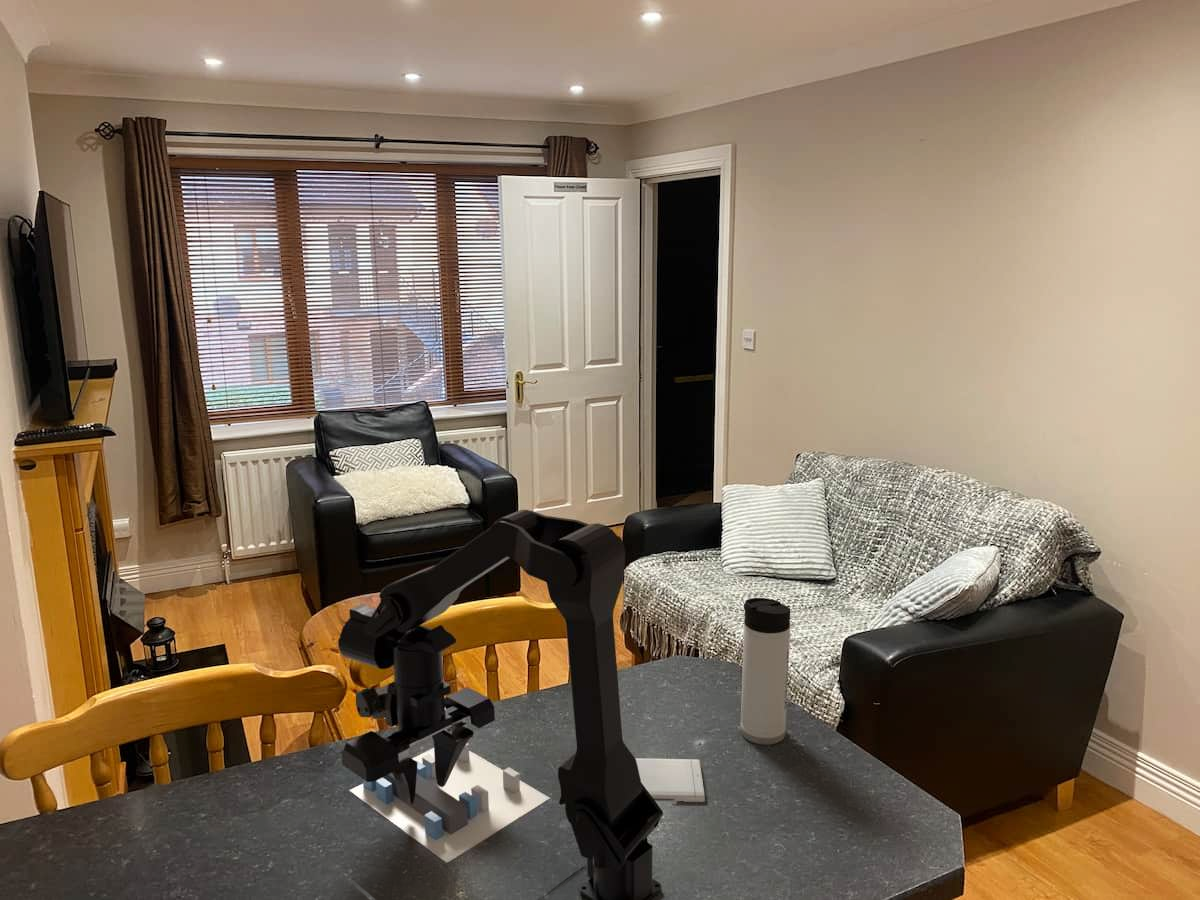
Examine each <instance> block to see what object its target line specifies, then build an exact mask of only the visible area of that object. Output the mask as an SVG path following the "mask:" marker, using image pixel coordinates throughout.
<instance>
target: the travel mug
mask: <svg viewBox="0 0 1200 900" xmlns="http://www.w3.org/2000/svg"><path fill="white" fill-rule="evenodd" d="M743 610H744V620H743V640H742V641H743V645H742V647H743V648H742V672H741V674H742V675H741V676H742V677H741V700H740V701H741V702H740V703H741V704H740V705H741V706H740V734H741V735H742V737H743V739H744V738H745V740H747V741H749V742H752V743H754V744H757V745H763V746H764V745H765V746H766V745H767V746H769V745H770V746H771V745H775V744H777V743H780V742H782V741H783V740H784V739H785V737H786V729H787V728H786V725H787V708H788V707H787V706H788V705H787V700H788V686H789V685H788V684H789V683H788V682H789V681H788V680H789V663H790V662H789V661H790V660H789V659H790V641H791V638H790V637H791V636H790V635H791V608H790V607H789V606H787V605H785V604H783V603H781V601H778V600H776V599H771V598H765V597H751V598H748V599H746V600H745V603H744V604H743Z"/></svg>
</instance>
